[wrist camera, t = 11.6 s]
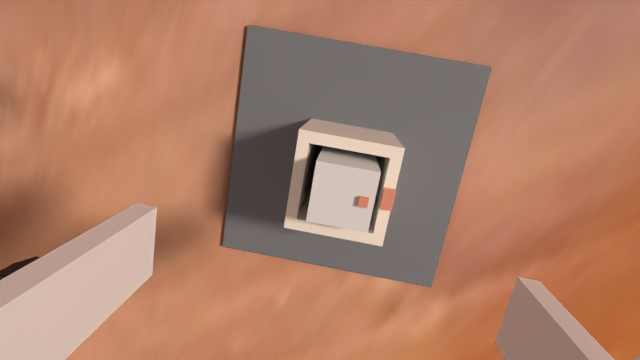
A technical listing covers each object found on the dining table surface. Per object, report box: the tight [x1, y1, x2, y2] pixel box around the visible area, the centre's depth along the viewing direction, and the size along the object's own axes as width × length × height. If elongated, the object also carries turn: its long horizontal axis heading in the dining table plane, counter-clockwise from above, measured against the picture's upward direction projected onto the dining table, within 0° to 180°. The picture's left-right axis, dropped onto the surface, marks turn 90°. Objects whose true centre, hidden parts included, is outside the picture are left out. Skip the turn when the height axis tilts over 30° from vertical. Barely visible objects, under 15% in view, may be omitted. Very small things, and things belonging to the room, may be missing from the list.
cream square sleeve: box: [284, 118, 405, 246], centre depth 29 cm, size 7×7×8 cm
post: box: [222, 25, 492, 287], centre depth 29 cm, size 20×20×11 cm
